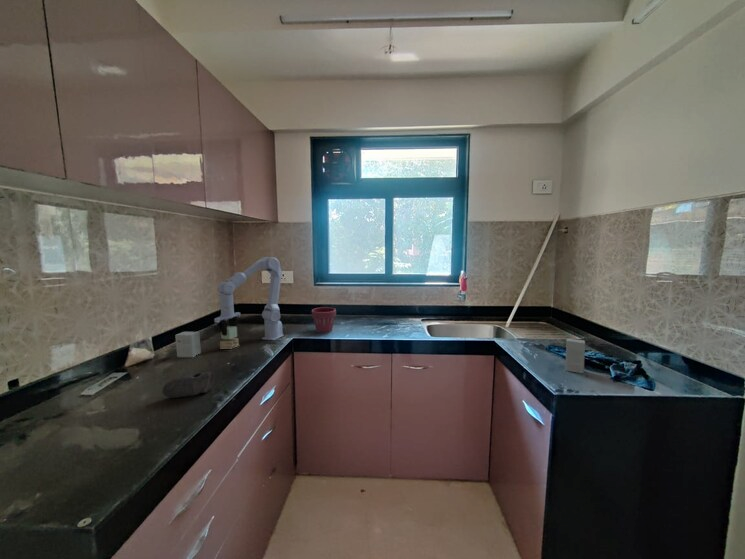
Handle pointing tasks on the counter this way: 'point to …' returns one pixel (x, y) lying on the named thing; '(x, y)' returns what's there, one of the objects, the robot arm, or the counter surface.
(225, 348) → the slab bottom
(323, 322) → the plant pot
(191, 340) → the small box
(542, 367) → the counter surface
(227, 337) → the sage cube
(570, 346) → the skincare box
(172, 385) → the perforated stone tool
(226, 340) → the slab top
